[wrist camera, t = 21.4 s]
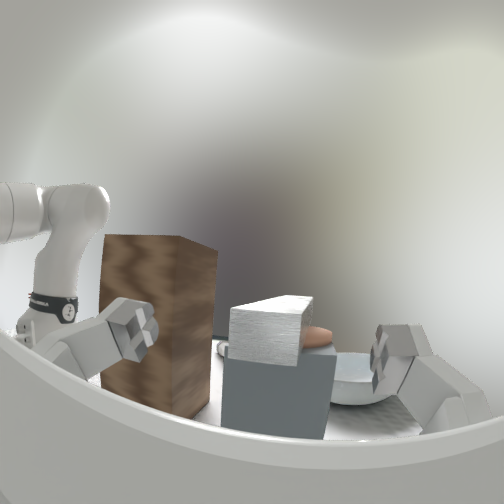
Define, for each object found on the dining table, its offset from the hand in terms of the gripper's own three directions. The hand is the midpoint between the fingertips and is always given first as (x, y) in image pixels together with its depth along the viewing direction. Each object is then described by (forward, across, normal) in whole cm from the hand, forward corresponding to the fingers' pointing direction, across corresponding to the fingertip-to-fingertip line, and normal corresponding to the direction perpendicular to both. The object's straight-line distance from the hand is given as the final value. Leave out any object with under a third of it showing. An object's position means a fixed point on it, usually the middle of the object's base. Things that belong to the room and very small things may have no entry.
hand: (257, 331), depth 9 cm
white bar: (+14, 0, -11) cm, 18 cm away
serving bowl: (+26, +12, -38) cm, 48 cm away
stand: (+12, -19, -30) cm, 38 cm away
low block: (+6, 0, -26) cm, 27 cm away
